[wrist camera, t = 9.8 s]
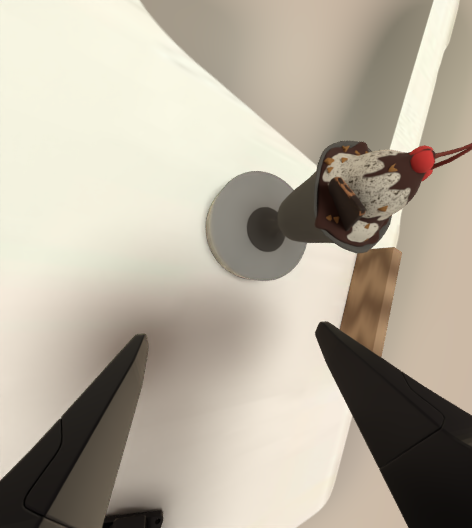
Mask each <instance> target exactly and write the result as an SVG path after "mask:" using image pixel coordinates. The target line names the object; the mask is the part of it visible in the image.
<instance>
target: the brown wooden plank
mask: <svg viewBox="0 0 472 528" xmlns="http://www.w3.org/2000/svg"><path fill="white" fill-rule="evenodd" d="M401 255H402V252H401V251H399V250H397V249H396V248H395V247H391V248H379V249H370V250H369V251H367V252H365V253H358V255H357V259H356V263H355V267H354V272H353V276H352V280H351V284H350V289H349V293H348V297H347V301H346V306H345V310H344V314H343V318H342V323H341V327H340V330H341V331H342V332H344V333H345V334H347V335H348V336H350V337H351V338H353V339H354V340H356V341H357V342H359V343H360V344H362V345H363V346H365V347H366V348H368V349H369V350H371V351H372V352H374V353H375V354H377V355H378V356H380V357H381V356H382V351H383V346H384V341H385V336H386V330H387V325H388V320H389V315H390V310H391V305H392V300H393V295H394V290H395V285H396V280H397V275H398V270H399V265H400V260H401Z"/></svg>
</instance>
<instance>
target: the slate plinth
mask: <svg viewBox="0 0 472 528" xmlns="http://www.w3.org/2000/svg"><path fill="white" fill-rule="evenodd" d="M293 191H294V190H293V189H292V188H291V187H290V186H289V185H288V184H287V183H286V182H285V181H283V180H282V179H281V178H279V177H277V176H275V175H273V174H270V173H266V172H261V171H251V172H246V173H243V174H240V175H238V176H236V177H235V178H233V179H232V180H231V181H229V182H228V183H227V184H226V185H225V187H224V188H223V189H222V190H221V192H220V193H219V194H218V195H217V197H216V198H215V199H214V201H213V202H212V204H211V206H210V208H209V211H208V215H207V220H206V236H207V240H208V244H209V247H210V249H211V252H212V253H213V255H214V257H215V258H216V260H217V261H218V262H219V263H220V265H221V266H222V267H223V268H225V269H226V270H227V271H229V272H230V273H232V274H234V275H236V276H238V277H241V278H246V279H253V280H260V281H269V280H275V279H278V278H280V277H282V276H284V275H286V274H288V273H289V272H290V271H291V270H292V269H294V268H295V266H296V265H297V264H298V263H299V261H300V259H301V258H302V256H303V254H304V251H305V248H306V244H307V243H304V242H297V241H292V240H290V239H288V238H287V237H286V236H285V240H284V242H283V244H282V245H281V246H280V247H279V248H278V249H277V250H275V251H272V252H264V251H261V250H259V249H258V248H256V247H255V246H254V245H253V244H252V242H251V241H250V239H249V237H248V233H247V223H248V219H249V217H250V215H251V214H252V213H253V211H255V210H256V209H258V208H260V207H269V208H272V209H274V210H276V211H277V212H278V210H279V207H280V205H281V203H282V202H283V201H284V200H285V198H286V197H287V196H288V195H289V194H290V193H291V192H293Z"/></svg>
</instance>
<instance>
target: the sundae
mask: <svg viewBox="0 0 472 528" xmlns="http://www.w3.org/2000/svg"><path fill="white" fill-rule="evenodd" d="M465 149H466V150H465ZM462 150H464V151H462ZM470 150H472V143H471V144H469V145H466V146H464V147H461V148H457V149H454V150H450V151H446V152H441V153H435V152H434V151H433V149H432V148H431V147H428V146H420V147H418V148H416V149H414V150H413V151H412V152H409V153H404V152H399V151H395V150H379V151H374V152H372V151H371V150H370V149H369V148H368V147H367V144H366V143H364V142H356V141H340V142H337V143H334V144H332V145H330V146H328V147H327V148H326V149H325V150H324V151H323V153H322V155H321V157H320V160H319V163H318V166H317V171H316V172H315V173H314V174H313V175H312V176H311V177H310V178H309V179H308V180H306V181H305V182H304V183H303V184H301V185H300V186H299V187H298V188H296V189H295V190H294V191H293V192H291V193H290V194H289V195H288V196H287V197H286V198H285V200H284V201H283V202H282V203H281V205H280V207H279V210H278V212H277V211H276V210H274V209H272V208H269V207H260V208H258V209H256V210H255V211H253V213H252V214H251V215H250V217H249V219H248V223H247V233H248V237H249V239H250V241H251V242H252V244H253V245H254V246H255V247H256V248H258V249H259V250H261V251H264V252H272V251H275V250H277V249H278V248H279V247H280V246H281V245H282V244H283V242H284V240H285V236H286V237H287V238H288V239H290V240H292V241H297V242H304V243H335V244H337V245H338V246H340V247H341V248H344V249H346V250H348V251H351V252H354V253H365V252H367V251H369V250H370V249H371V248H372V247H373V246H374V245H375V244H376V243H377V242H378V241H379V240H380V239H381V238H382V237H383V235H384V234H385V232H386V231H387V229H388V227H389V225H390V222H391V217H392V214H394V213H396V212H397V211H399V210H401V209H402V208H403V207H404V206H405V205H406V204H407V203H408V202H409V201H410V200H411V199H412V198H413V197H414V195H415V194H416V192H417V190H418V188H419V186H420V183H421V181H424V180H425V179H426V178H427V177H428V176H429V175H431V174H432V171H433V169H434V168H437V167H439V166H442V165H444V164H447V163H449V162H452V161H453V160H455V159H457V158H458V157H460V156H462V155H464V154H465V153H467V152H469V151H470ZM459 151H462V152H461V153H459V154H457V155H455V156H453V157H451V158H449V159H447V160H444V161H441V162H439V163H436V164H434V163H435V159H436V158H438V157H441V156H445V155H449V154H453V153H456V152H459Z"/></svg>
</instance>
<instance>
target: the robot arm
mask: <svg viewBox="0 0 472 528" xmlns="http://www.w3.org/2000/svg"><path fill="white" fill-rule="evenodd" d="M315 335H316V338H317V341H318V343H319V346H320V349H321V351H322V354H323V356H324V359H325V361H326V363H327V366H328V368H329V370H330V372H331V374H332V376H333V378H334V380H335V382H336V384H337V386H338V388H339V390H340V392H341V394H342V396H343V398H344V400H345V402H346V404H347V406H348V408H349V410H350V412H351V414H352V416H353V418H354V420H355V422H356V423H357V426H358V427H359V430H360V432H361V434H362V436H363V438H364V439H365V442H366V444H367V446H368V448H369V449H370V451H371V453H372V455H373V457H374V459H375V461H376V463H377V465H378V467H379V468H380V469H379V470H380V472H381V473H382V476H383V478H384V480H385V482H386V484H387V486H388V488H389V490H390V492H391V494H392V495H393V498H394V499H395V501H396V503H397V506H398V508H399V510H400V511H401V514H402V516H403V517H404V520H405V522H406V524H407V526H408V528H472V415H470V414H468V413H467V412H465V411H463V410H462V409H460V408H458V407H457V406H455V405H454V404H452V403H450V402H449V401H447V400H445V399H444V398H442V397H441V396H439V395H437V394H436V393H434V392H432V391H431V390H429V389H428V388H426V387H424V386H423V385H421V384H420V383H418V382H417V381H415V380H414V379H412V378H411V377H409V376H408V375H406V374H405V373H403V372H401V371H400V370H399V369H397V368H396V367H394V366H393V365H391V364H390V363H388V362H387V361H386V360H384V359H383V358H381V357H380V356H378V355H377V354H375V353H374V352H372V351H371V350H369V349H368V348H366V347H365V346H363V345H362V344H360V343H359V342H357V341H356V340H354V339H353V338H351V337H350V336H348V335H347V334H345V333H344V332H342V331H341V330H339V329H338V328H337V327H335V326H334V325H332V324H331V323H329V322H326V321H325V322H320V323H319V325H318V327H317V329H316V331H315ZM148 348H149V346H148V341H147V336H146V334H137V335H135V336H134V337H133V338H132V339H131V340H130V342H129V343H128V344H127V345H126V346H125V347H124V348H123V349H122V350H121V351H120V353H119V354H118V355H117V356H116V357H115V358H114V359H113V360H112V361H111V362H110V364H109V365H108V366H107V367H106V368H105V369H104V370H103V371H102V372H101V374H100V375H99V376H98V377H97V378H96V379H95V380H94V381H93V382H92V383H91V385H90V386H89V387H88V388H87V389H86V390H85V391H84V392H83V393H82V394H81V396H80V397H79V398H78V399H77V400H76V401H75V402H74V403H73V404H72V406H71V407H70V408H69V409H68V410H67V411H66V412H65V413H64V414H63V415H62V417H61V419H59V420H58V421H57V422H56V423H55V424H54V425H53V426H52V427H51V429H50V430H49V431H48V432H47V433H46V434H45V435H44V436H43V437H42V438H41V439H40V440H39V442H38V443H37V444H36V445H35V446H34V447H33V448H32V449H31V450H30V451H29V452H28V453H27V454H26V455H25V456H24V457H23V458H22V459H21V460H20V461H19V462H18V463H17V464H16V465H15V466H14V467H13V468H12V469H11V470H10V471H9V472H8V473H7V474H6V475H5V476H4V477H3V478H2V479H1V480H0V528H161V525H162V522H163V512H162V511H153V512H145V513H137V514H129V515H121V516H113V517H105V515H106V511H107V508H108V504H109V501H110V497H111V494H112V490H113V487H114V483H115V480H116V476H117V473H118V469H119V466H120V462H121V459H122V455H123V451H124V448H125V444H126V441H127V437H128V434H129V430H130V427H131V423H132V420H133V416H134V413H135V409H136V406H137V402H138V399H139V395H140V392H141V388H142V383H143V378H144V372H145V367H146V361H147V355H148Z"/></svg>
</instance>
